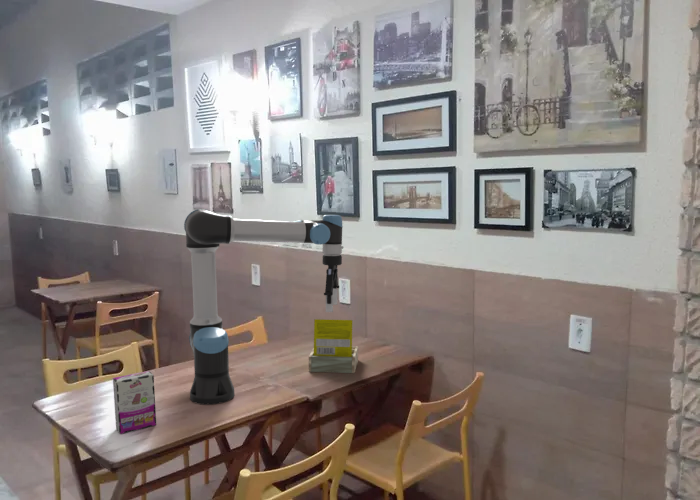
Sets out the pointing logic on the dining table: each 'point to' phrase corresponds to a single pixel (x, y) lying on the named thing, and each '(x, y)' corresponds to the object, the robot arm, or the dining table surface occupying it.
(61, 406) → the dining table surface
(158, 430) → the dining table surface
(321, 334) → the food package
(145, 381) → the candy bar box
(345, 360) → the rack
